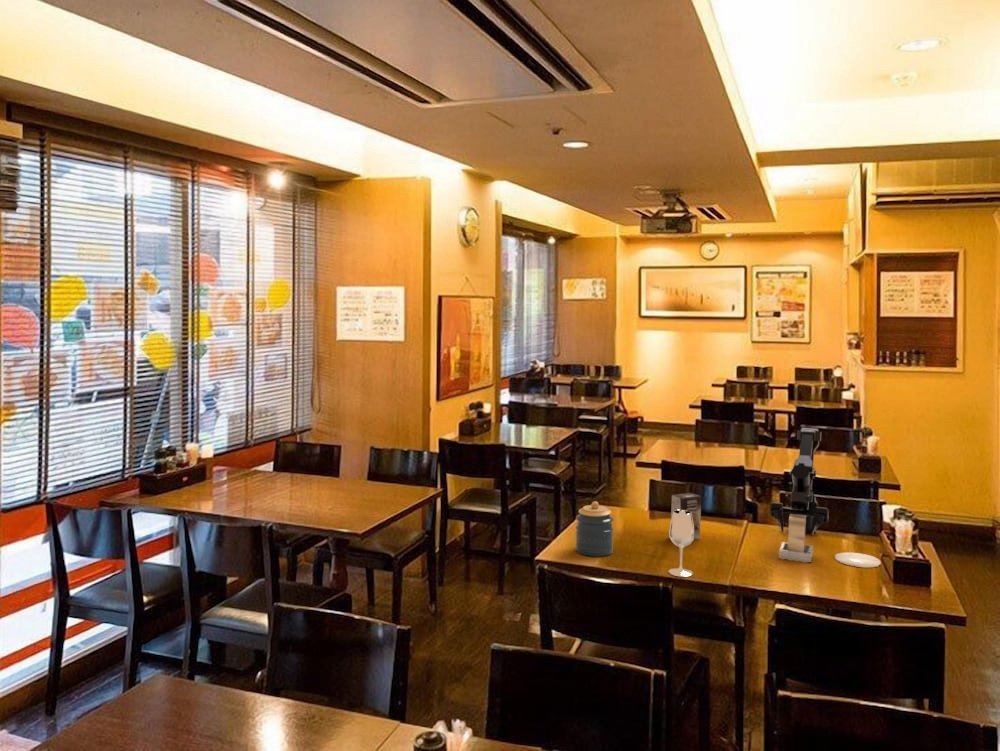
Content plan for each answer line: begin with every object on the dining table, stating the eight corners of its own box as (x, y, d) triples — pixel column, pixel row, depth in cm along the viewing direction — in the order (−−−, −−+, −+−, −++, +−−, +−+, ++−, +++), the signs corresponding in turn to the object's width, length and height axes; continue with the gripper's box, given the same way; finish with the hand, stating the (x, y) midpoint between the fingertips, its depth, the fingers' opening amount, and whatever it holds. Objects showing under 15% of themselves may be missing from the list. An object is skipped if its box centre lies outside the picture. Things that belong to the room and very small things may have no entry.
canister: (620, 551, 277) (621, 501, 275) (598, 559, 268) (599, 508, 266) (590, 543, 286) (591, 495, 284) (567, 551, 276) (568, 501, 275)
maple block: (788, 553, 275) (790, 513, 274) (804, 555, 273) (806, 515, 272) (787, 557, 271) (789, 517, 269) (803, 559, 269) (804, 519, 267)
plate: (867, 553, 275) (867, 552, 275) (888, 567, 261) (888, 565, 261) (827, 554, 275) (827, 552, 275) (847, 567, 261) (847, 566, 261)
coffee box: (681, 542, 287) (682, 498, 286) (669, 537, 293) (670, 494, 292) (700, 539, 292) (702, 495, 290) (689, 534, 297) (690, 491, 296)
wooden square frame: (782, 550, 279) (782, 542, 278) (812, 554, 274) (812, 545, 274) (778, 558, 270) (779, 550, 269) (810, 563, 265) (810, 554, 265)
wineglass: (666, 575, 253) (667, 513, 251) (670, 567, 260) (672, 507, 258) (691, 578, 250) (692, 516, 248) (694, 570, 257) (696, 510, 255)
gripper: (771, 479, 278) (766, 517, 269) (829, 484, 270) (826, 524, 261) (773, 496, 285) (768, 534, 277) (829, 502, 278) (826, 541, 269)
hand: (796, 533), depth 270 cm, fingers open, 9 cm apart
